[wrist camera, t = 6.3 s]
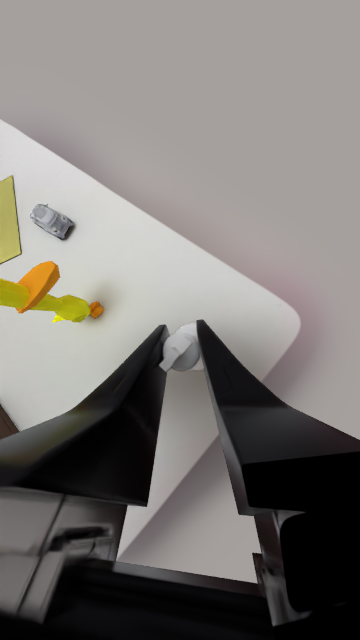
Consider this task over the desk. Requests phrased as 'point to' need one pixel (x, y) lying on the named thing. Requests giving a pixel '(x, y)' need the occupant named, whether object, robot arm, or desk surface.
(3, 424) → the dark tray
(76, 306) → the toy figure
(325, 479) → the robot arm
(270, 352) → the desk surface
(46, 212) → the toy car
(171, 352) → the chess piece
